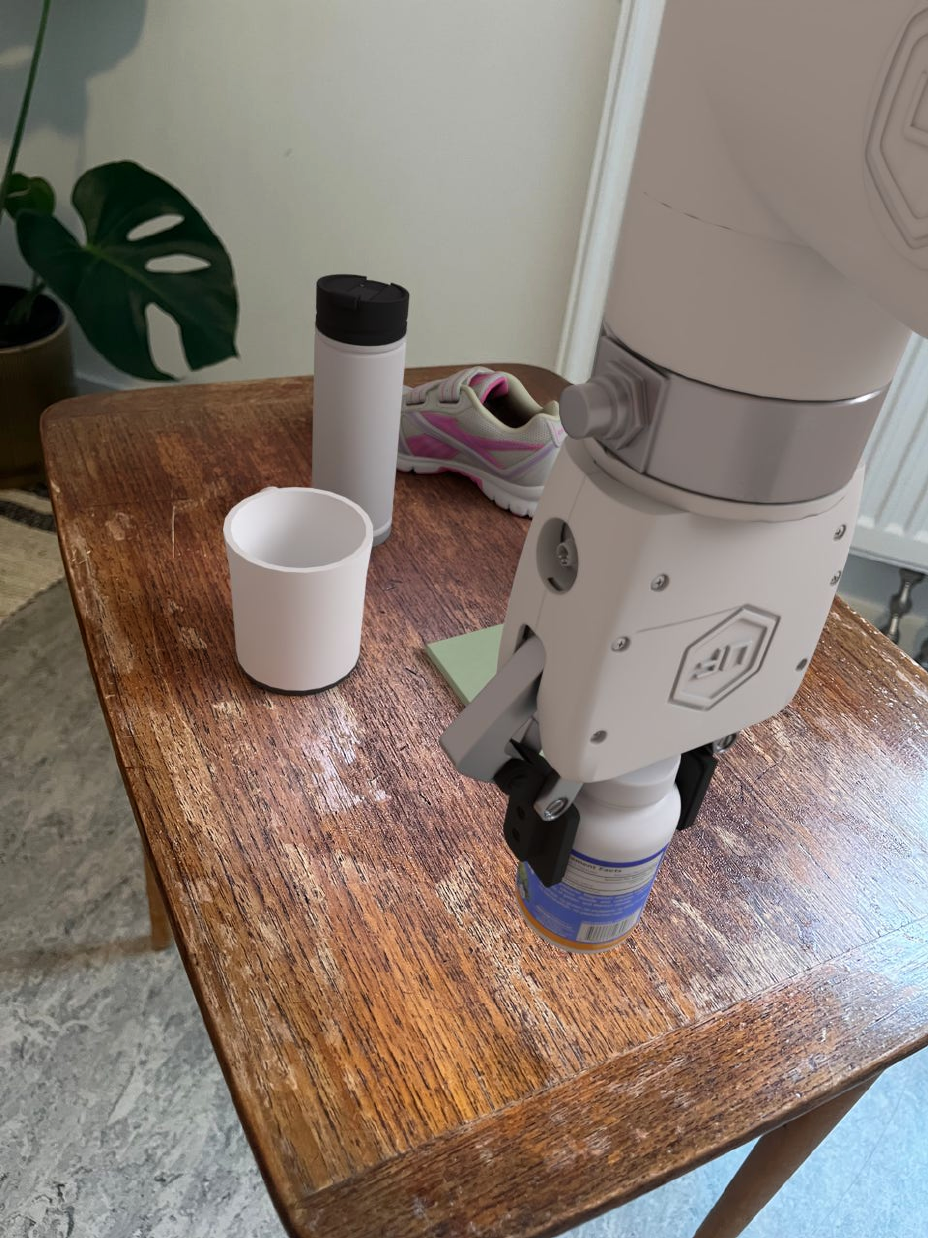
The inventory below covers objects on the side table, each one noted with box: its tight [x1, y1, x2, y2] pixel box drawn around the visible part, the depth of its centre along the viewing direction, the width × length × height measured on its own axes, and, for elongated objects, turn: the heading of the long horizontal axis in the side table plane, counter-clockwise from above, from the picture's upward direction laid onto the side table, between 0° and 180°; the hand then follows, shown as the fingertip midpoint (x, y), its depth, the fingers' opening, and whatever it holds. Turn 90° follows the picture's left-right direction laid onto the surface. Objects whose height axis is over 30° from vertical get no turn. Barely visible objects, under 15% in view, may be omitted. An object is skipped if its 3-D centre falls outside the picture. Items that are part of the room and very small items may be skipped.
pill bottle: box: [514, 754, 681, 955], centre depth 37 cm, size 5×5×10 cm
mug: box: [222, 486, 373, 696], centre depth 62 cm, size 11×9×10 cm
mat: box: [425, 622, 546, 759], centre depth 64 cm, size 14×12×1 cm
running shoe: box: [396, 365, 568, 519], centre depth 82 cm, size 9×22×10 cm, turn 64°
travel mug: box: [311, 273, 411, 549], centre depth 69 cm, size 6×7×20 cm
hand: (599, 826), depth 37 cm, fingers closed on pill bottle, 5 cm apart
